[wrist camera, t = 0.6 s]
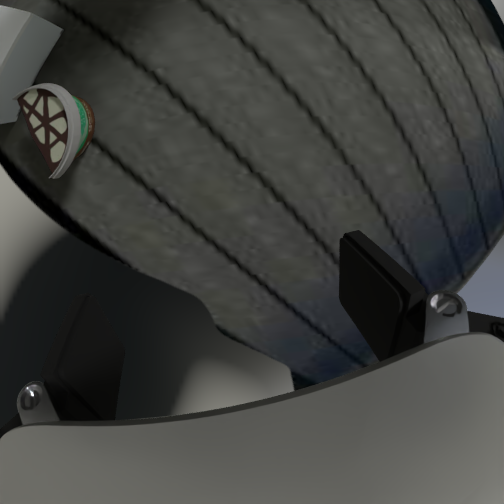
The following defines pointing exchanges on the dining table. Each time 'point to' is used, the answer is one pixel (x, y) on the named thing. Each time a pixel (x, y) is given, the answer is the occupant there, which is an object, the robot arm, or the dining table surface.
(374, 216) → the dining table surface
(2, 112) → the box
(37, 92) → the food container
